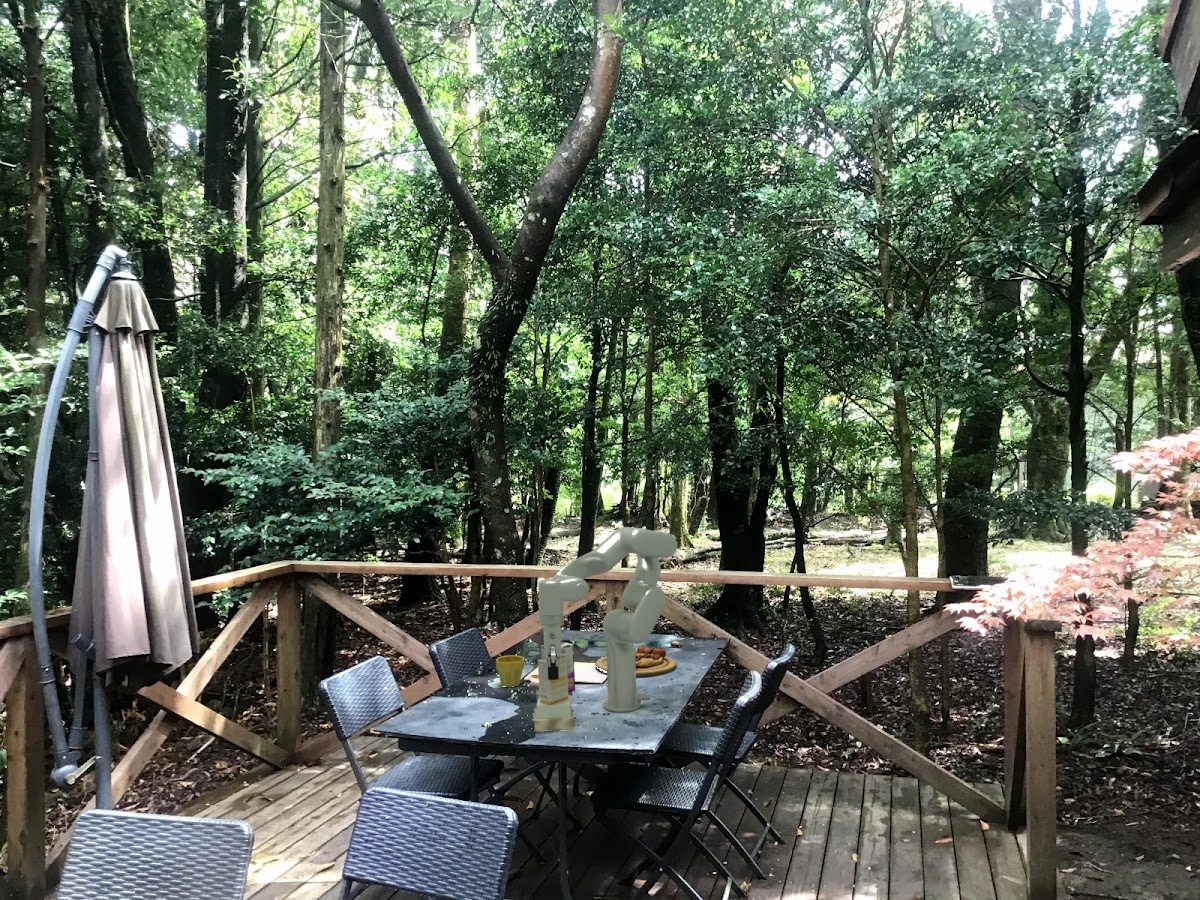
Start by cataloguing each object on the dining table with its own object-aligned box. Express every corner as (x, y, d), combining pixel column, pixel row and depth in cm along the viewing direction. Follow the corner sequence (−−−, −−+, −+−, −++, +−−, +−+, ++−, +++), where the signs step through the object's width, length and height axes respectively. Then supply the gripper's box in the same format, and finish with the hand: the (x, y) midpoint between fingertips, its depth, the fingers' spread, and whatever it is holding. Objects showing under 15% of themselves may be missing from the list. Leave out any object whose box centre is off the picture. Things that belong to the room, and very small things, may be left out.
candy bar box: (567, 687, 279) (566, 641, 279) (575, 690, 275) (574, 644, 275) (541, 694, 271) (540, 647, 272) (550, 697, 268) (548, 649, 268)
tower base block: (572, 719, 245) (571, 706, 246) (574, 731, 234) (574, 718, 234) (534, 721, 244) (533, 708, 244) (534, 734, 232) (534, 720, 232)
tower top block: (571, 707, 244) (571, 695, 244) (569, 718, 234) (569, 704, 234) (539, 708, 244) (539, 695, 244) (536, 718, 234) (536, 705, 234)
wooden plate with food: (653, 683, 283) (653, 660, 283) (579, 672, 299) (579, 650, 299) (689, 664, 310) (689, 643, 311) (620, 655, 327) (620, 635, 327)
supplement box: (558, 696, 243) (556, 654, 244) (569, 698, 240) (567, 655, 241) (538, 702, 237) (536, 659, 238) (549, 705, 234) (547, 661, 235)
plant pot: (528, 687, 280) (527, 660, 281) (500, 691, 277) (499, 663, 277) (520, 680, 290) (519, 653, 290) (493, 683, 286) (492, 657, 286)
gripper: (565, 624, 231) (566, 682, 231) (562, 613, 249) (563, 667, 248) (539, 625, 231) (541, 683, 230) (538, 614, 248) (539, 668, 247)
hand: (552, 675), depth 239 cm, fingers open, 9 cm apart
